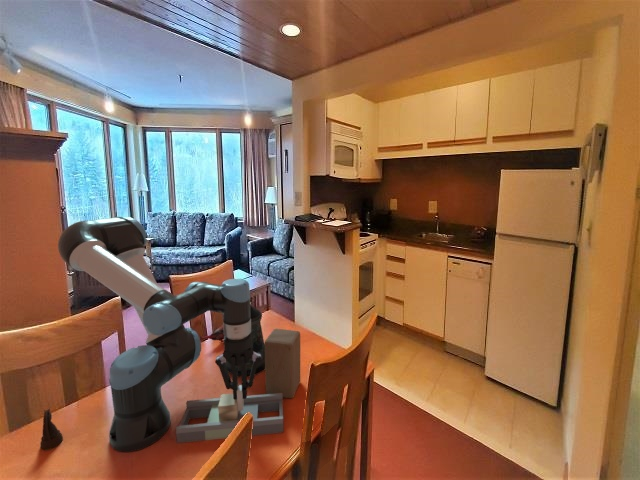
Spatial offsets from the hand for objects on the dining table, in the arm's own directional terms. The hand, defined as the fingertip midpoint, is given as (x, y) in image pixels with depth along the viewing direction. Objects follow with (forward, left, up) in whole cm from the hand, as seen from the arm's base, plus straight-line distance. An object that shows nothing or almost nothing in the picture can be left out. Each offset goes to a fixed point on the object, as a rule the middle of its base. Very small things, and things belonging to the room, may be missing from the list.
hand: (240, 407), depth 91 cm
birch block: (-3, 0, -2) cm, 4 cm away
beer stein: (-2, +31, -5) cm, 31 cm away
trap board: (-2, 0, -5) cm, 5 cm away
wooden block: (+13, +14, -5) cm, 20 cm away
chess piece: (-50, -1, -5) cm, 50 cm away
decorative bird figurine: (-15, +47, -5) cm, 50 cm away
